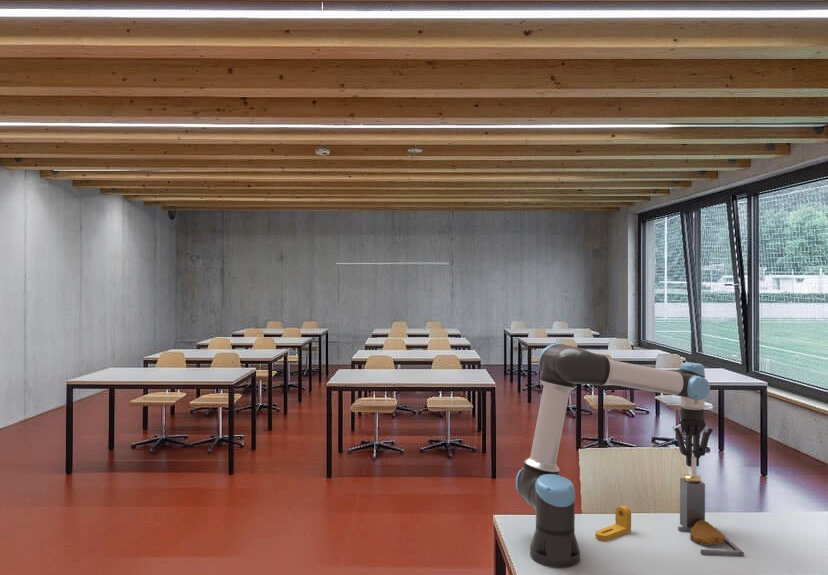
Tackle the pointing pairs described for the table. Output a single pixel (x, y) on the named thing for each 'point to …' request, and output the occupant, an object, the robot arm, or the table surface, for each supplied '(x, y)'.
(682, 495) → the press
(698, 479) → the pin
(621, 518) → the bracket
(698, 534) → the artifact
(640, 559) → the table surface
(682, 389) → the robot arm
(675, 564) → the table surface
